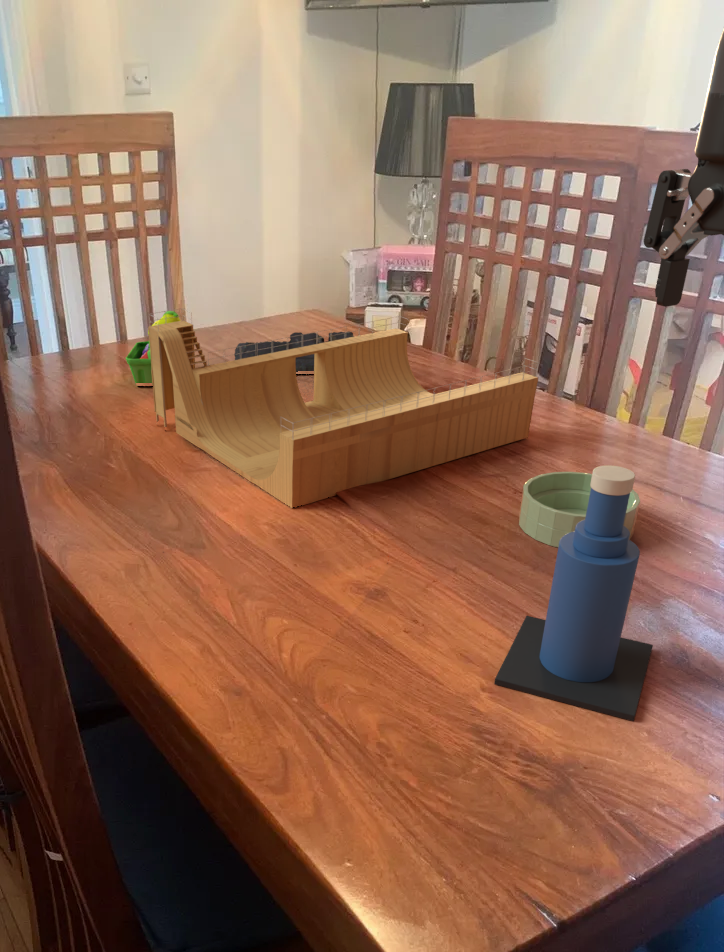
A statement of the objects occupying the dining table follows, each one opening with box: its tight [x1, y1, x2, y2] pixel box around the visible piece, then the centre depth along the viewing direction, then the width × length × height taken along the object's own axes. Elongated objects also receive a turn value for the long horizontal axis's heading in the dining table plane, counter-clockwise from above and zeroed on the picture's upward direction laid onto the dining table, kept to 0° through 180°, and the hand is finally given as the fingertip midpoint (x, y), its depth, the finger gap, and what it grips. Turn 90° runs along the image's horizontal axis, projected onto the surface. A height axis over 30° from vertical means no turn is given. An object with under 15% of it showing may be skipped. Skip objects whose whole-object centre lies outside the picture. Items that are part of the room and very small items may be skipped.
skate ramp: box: [148, 308, 540, 509], centre depth 119 cm, size 40×35×16 cm
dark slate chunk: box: [233, 330, 355, 372], centre depth 153 cm, size 15×22×5 cm
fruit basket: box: [125, 310, 182, 384], centre depth 144 cm, size 11×9×11 cm
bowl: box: [518, 471, 641, 548], centre depth 95 cm, size 12×12×4 cm
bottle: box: [540, 464, 641, 682], centre depth 69 cm, size 6×6×17 cm
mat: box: [493, 615, 654, 722], centre depth 73 cm, size 11×11×1 cm
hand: (709, 315), depth 71 cm, fingers open, 8 cm apart
